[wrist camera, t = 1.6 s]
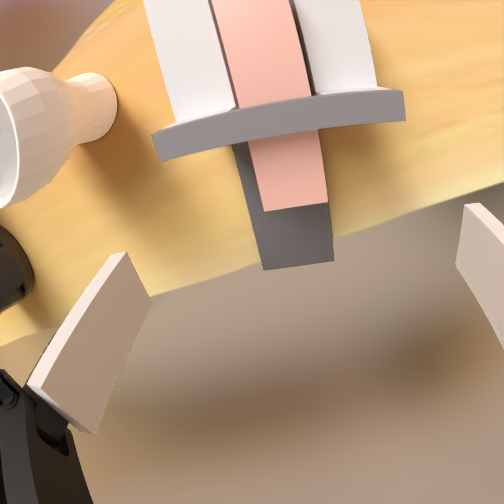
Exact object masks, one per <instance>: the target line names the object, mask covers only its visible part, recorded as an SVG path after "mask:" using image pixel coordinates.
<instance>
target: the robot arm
mask: <svg viewBox="0 0 504 504" xmlns="http://www.w3.org/2000/svg"><path fill="white" fill-rule="evenodd" d="M455 266H456V267H457V269H458V270H459V272H460V273H461V275H462V276H463V278H464V279H465V281H466V283H467V284H468V286H469V287H470V289H471V291H472V292H473V294H474V295H475V297H476V299H477V300H478V302H479V304H480V306H481V307H482V309H483V311H484V313H485V314H486V316H487V318H488V320H489V322H490V324H491V325H492V327H493V329H494V331H495V333H496V335H497V337H498V339H499V341H500V343H501V345H502V347H503V349H504V225H503V224H502V223H501V222H500V221H498V219H496V218H495V217H494V216H493V215H492V214H491V213H490V212H489V211H488V210H487V209H486V208H485V207H484V206H482V205H481V204H480V203H473V204H465V205H464V212H463V221H462V228H461V235H460V241H459V247H458V253H457V258H456V263H455ZM33 285H34V277H33V272H32V269H31V266H30V263H29V261H28V259H27V257H26V255H25V253H24V251H23V250H22V248H21V247H20V245H19V244H18V242H17V241H16V240H15V239H14V237H13V236H12V235H11V234H10V233H9V232H8V231H7V230H5V229H4V228H3V227H1V226H0V314H1V313H2V312H4V311H5V310H7V309H8V308H10V307H12V306H14V305H15V304H17V303H19V302H20V301H22V300H23V299H25V298H26V297H27V295H28V294H29V293H30V292H31V290H32V289H33ZM151 304H152V301H151V299H150V297H149V295H148V294H147V292H146V290H145V288H144V286H143V284H142V282H141V280H140V278H139V276H138V274H137V272H136V270H135V268H134V266H133V264H132V262H131V260H130V258H129V256H128V254H127V251H126V252H120V253H114V254H112V255H111V256H110V257H109V259H108V260H107V261H106V262H105V264H104V265H103V266H102V268H101V269H100V270H99V272H98V273H97V275H96V276H95V277H94V279H93V280H92V281H91V283H90V284H89V285H88V287H87V288H86V290H85V291H84V292H83V294H82V295H81V297H80V298H79V300H78V301H77V303H76V304H75V305H74V307H73V308H72V310H71V311H70V313H69V314H68V316H67V317H66V319H65V320H64V322H63V323H62V325H61V326H60V328H59V330H58V331H57V332H56V333H55V334H54V336H53V337H52V339H51V340H50V342H49V344H48V347H46V349H45V350H44V352H43V355H42V356H41V357H40V359H39V361H38V362H37V364H36V366H35V367H34V369H33V371H32V372H31V374H30V376H29V378H28V380H27V381H26V383H25V385H24V386H23V388H21V387H20V386H19V385H18V384H17V383H16V382H15V381H14V379H13V378H12V377H11V376H10V375H9V374H8V373H7V372H6V371H5V370H3V369H0V504H93V501H92V498H91V496H90V493H89V490H88V487H87V484H86V481H85V478H84V475H83V472H82V469H81V465H80V462H79V458H78V455H77V451H76V447H75V444H74V440H73V435H72V433H71V431H70V430H69V429H68V428H67V426H68V423H71V424H72V425H73V426H74V427H75V428H77V429H78V430H79V431H82V432H86V433H89V434H92V435H96V432H97V429H98V427H99V424H100V422H101V419H102V416H103V414H104V411H105V409H106V406H107V404H108V401H109V399H110V396H111V394H112V392H113V389H114V387H115V384H116V382H117V380H118V377H119V375H120V372H121V370H122V368H123V365H124V363H125V361H126V359H127V356H128V354H129V352H130V350H131V347H132V345H133V343H134V340H135V338H136V336H137V334H138V332H139V330H140V328H141V325H142V323H143V321H144V319H145V317H146V315H147V312H148V311H149V308H150V306H151Z"/></svg>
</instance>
